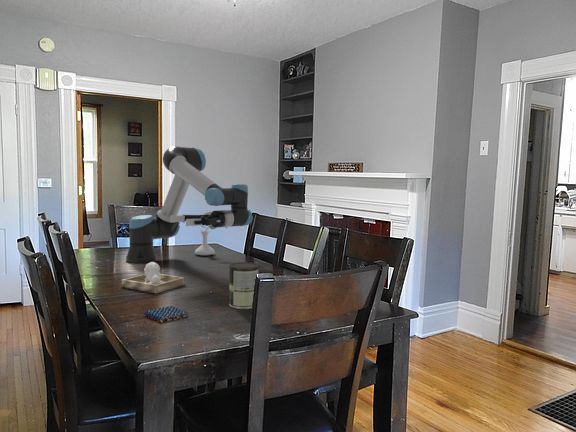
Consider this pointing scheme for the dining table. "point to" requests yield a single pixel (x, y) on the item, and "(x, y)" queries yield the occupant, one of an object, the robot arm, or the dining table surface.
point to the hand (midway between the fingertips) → (178, 220)
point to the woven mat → (166, 314)
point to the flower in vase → (205, 242)
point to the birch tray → (165, 284)
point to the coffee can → (242, 284)
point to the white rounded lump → (152, 273)
